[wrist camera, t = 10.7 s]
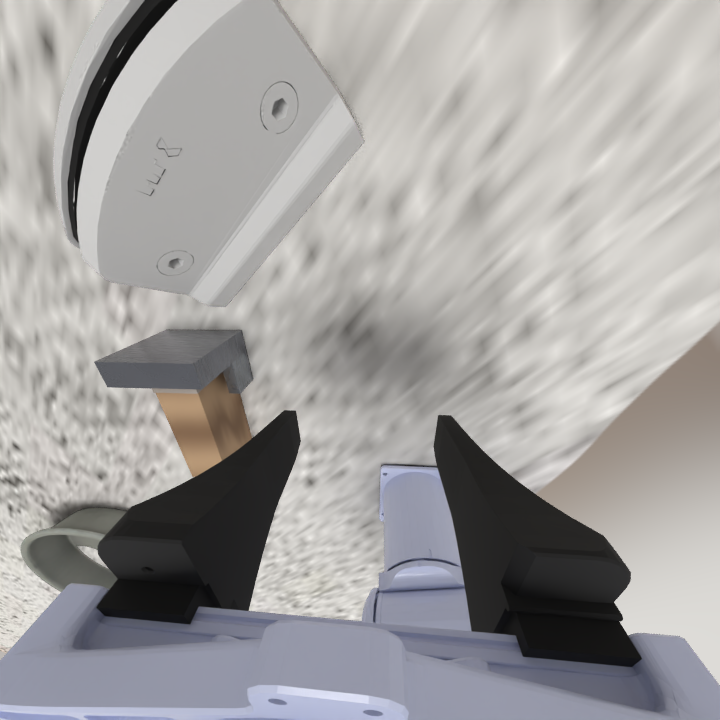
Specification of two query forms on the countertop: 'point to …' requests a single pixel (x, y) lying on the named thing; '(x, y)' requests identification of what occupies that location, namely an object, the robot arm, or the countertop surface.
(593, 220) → the countertop surface
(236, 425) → the block
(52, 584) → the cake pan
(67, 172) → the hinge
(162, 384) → the grey metal bench
